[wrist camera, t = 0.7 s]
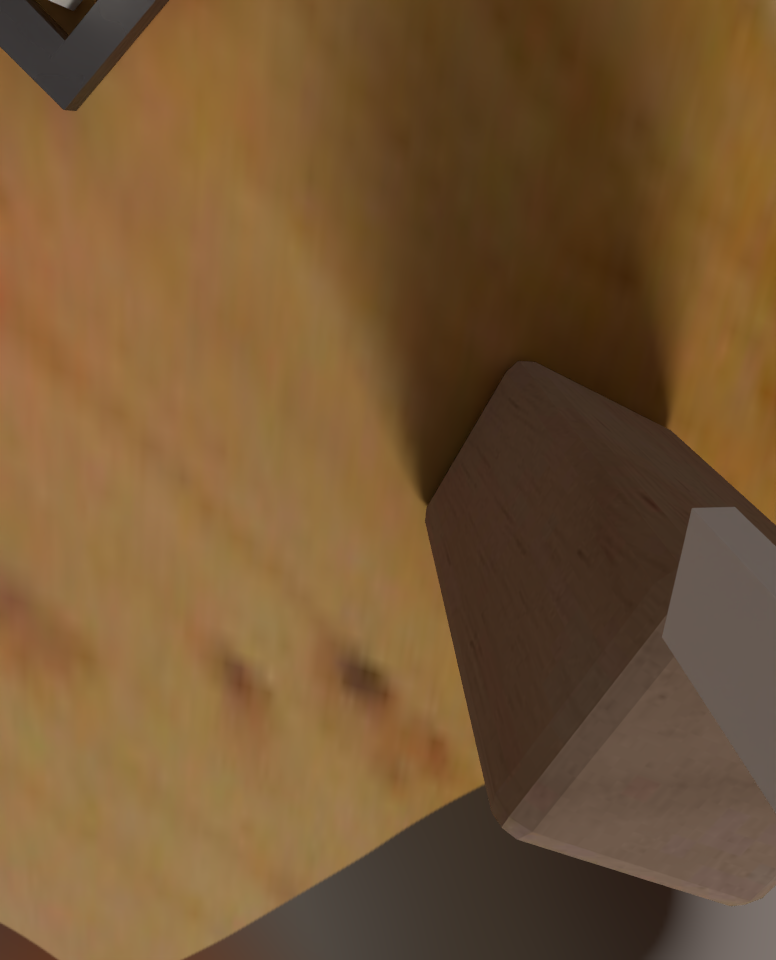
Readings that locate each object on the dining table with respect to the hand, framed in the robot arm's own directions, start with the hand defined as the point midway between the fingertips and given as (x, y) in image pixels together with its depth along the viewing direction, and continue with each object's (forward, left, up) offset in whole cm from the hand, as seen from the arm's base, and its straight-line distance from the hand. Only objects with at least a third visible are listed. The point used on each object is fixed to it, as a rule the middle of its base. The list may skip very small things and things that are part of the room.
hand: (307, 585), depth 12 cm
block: (+14, +2, -24) cm, 28 cm away
